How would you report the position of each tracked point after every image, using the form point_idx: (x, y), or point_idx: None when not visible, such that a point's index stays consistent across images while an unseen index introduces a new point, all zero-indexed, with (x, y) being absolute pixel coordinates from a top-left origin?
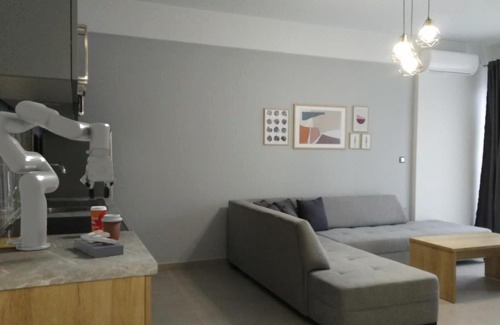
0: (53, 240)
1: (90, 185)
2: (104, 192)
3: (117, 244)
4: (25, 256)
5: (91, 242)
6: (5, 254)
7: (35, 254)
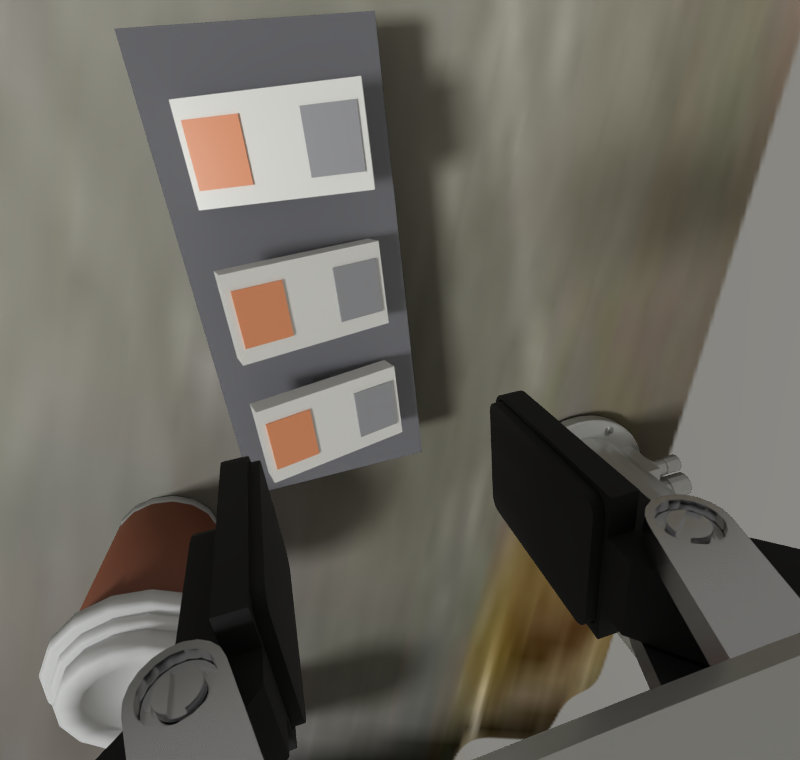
0: (455, 619)
1: (754, 553)
2: (289, 616)
3: (167, 108)
4: (647, 297)
5: (364, 239)
6: (690, 379)
7: (602, 326)
